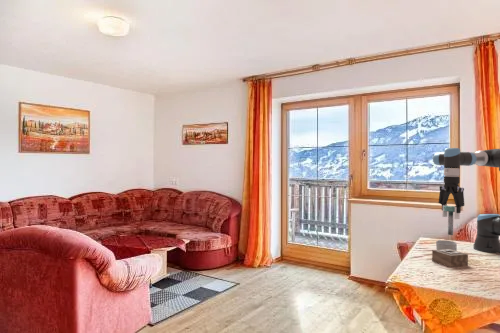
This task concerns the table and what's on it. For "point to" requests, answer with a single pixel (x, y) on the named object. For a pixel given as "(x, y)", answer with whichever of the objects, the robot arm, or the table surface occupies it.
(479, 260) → the table surface
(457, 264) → the block
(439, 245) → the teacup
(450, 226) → the teal rounded knob
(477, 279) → the table surface
